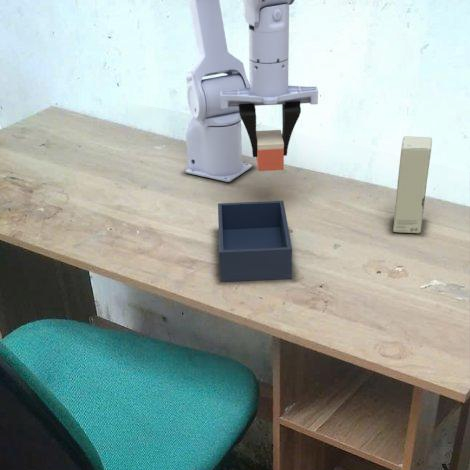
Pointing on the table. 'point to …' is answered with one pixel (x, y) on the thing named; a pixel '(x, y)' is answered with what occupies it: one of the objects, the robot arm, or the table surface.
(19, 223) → the table surface
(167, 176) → the table surface
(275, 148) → the box
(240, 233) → the navy blue open bin
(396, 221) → the box
